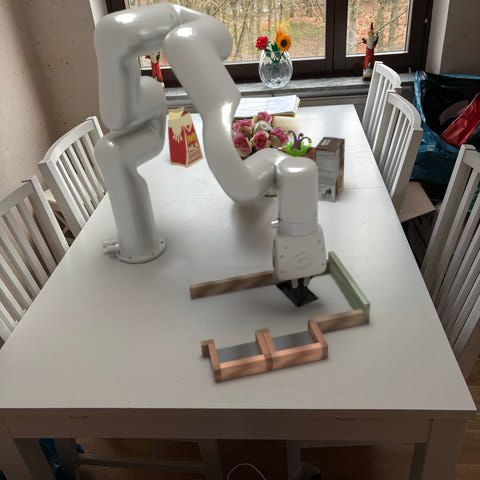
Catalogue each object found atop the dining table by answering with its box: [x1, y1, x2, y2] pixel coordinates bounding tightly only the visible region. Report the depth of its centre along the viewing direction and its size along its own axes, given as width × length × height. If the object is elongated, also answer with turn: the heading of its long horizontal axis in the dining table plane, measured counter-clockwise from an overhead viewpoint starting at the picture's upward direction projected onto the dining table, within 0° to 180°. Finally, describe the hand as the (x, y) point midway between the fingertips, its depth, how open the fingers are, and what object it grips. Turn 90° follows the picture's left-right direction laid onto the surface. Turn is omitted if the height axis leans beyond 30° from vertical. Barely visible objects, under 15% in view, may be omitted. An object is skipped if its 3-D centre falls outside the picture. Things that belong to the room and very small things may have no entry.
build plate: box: [274, 278, 320, 308], centre depth 106 cm, size 12×7×5 cm, turn 27°
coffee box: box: [315, 136, 346, 203], centre depth 142 cm, size 9×6×16 cm
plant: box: [278, 130, 316, 162], centre depth 167 cm, size 20×20×11 cm
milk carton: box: [167, 106, 204, 168], centre depth 172 cm, size 9×9×20 cm
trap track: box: [188, 250, 371, 383], centre depth 99 cm, size 33×26×5 cm
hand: (299, 298), depth 103 cm, fingers closed
